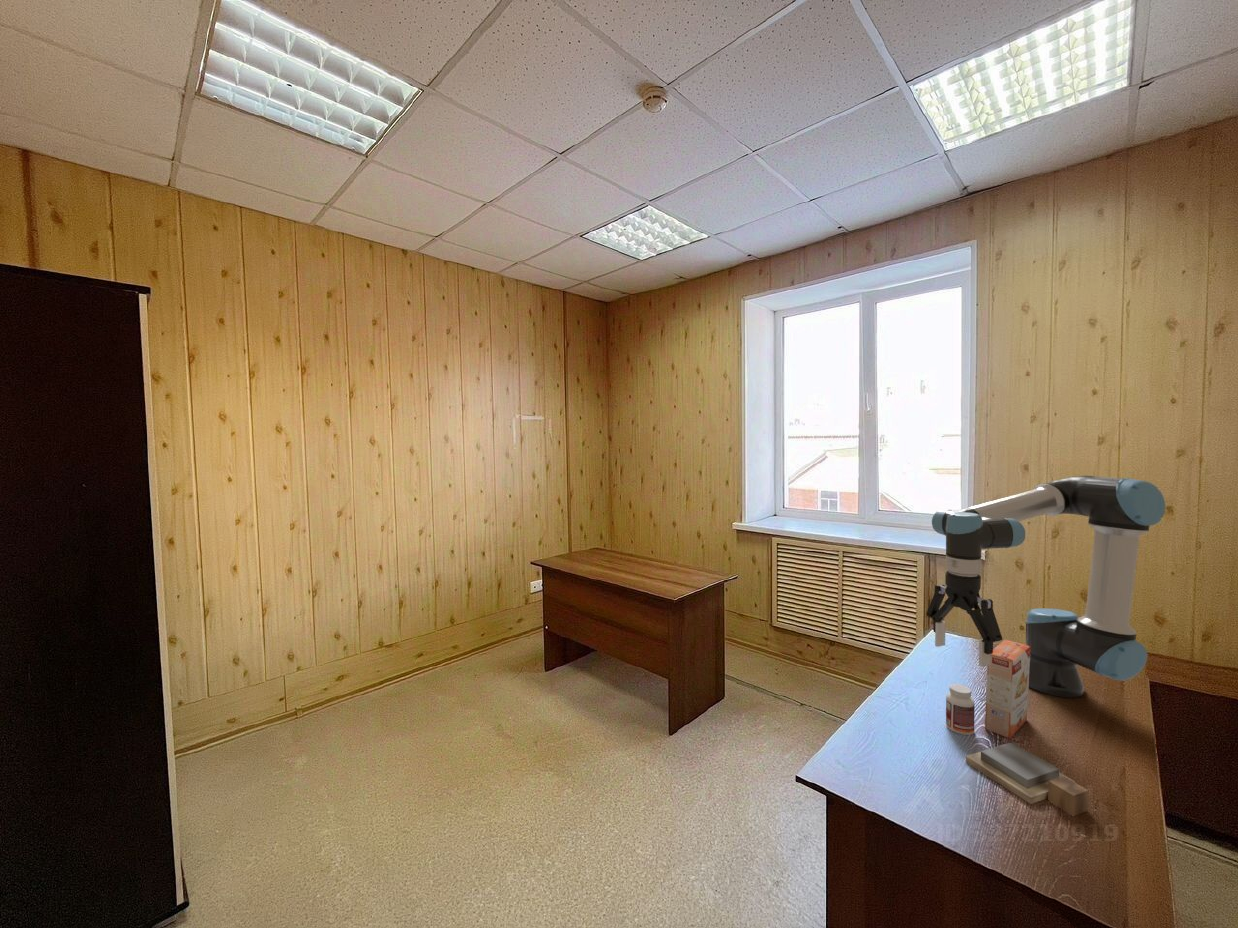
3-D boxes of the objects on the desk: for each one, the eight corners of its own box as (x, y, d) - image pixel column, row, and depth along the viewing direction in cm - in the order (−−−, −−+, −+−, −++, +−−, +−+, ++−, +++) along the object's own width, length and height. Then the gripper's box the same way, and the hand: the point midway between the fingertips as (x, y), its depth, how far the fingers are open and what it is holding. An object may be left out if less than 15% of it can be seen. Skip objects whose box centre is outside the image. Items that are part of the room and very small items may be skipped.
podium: (1007, 749, 120) (1008, 735, 120) (1075, 788, 107) (1076, 772, 107) (965, 761, 116) (966, 747, 116) (1030, 804, 103) (1031, 788, 103)
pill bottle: (979, 731, 127) (980, 691, 127) (965, 738, 125) (966, 696, 124) (954, 719, 133) (955, 680, 132) (940, 725, 130) (941, 685, 130)
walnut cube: (1063, 775, 105) (1088, 790, 100) (1062, 795, 105) (1087, 810, 101) (1048, 780, 103) (1073, 795, 99) (1047, 800, 104) (1072, 816, 99)
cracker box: (1012, 740, 123) (1014, 660, 122) (983, 729, 128) (985, 652, 127) (1029, 720, 132) (1031, 645, 130) (1002, 710, 136) (1004, 637, 135)
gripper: (911, 562, 136) (910, 639, 138) (1000, 587, 114) (997, 678, 115) (932, 560, 139) (931, 635, 140) (1022, 584, 116) (1020, 673, 118)
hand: (961, 654), depth 128 cm, fingers open, 11 cm apart
